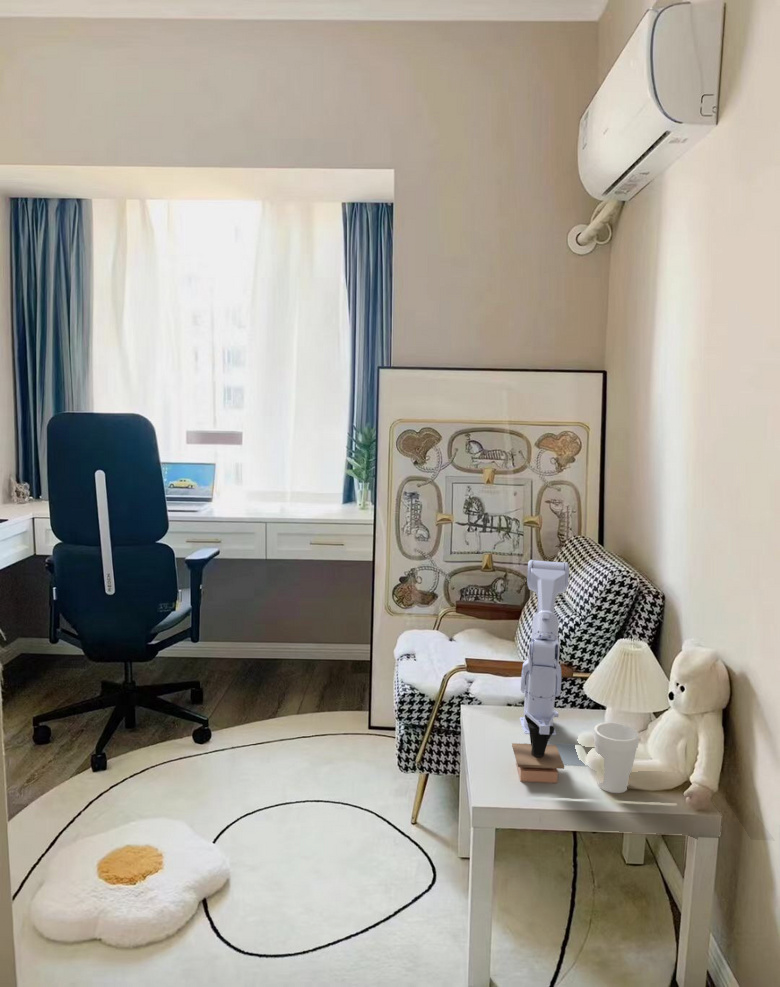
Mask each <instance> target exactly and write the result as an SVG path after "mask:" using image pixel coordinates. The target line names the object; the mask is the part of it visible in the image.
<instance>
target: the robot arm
mask: <svg viewBox="0 0 780 987" xmlns="http://www.w3.org/2000/svg"><path fill="white" fill-rule="evenodd" d="M569 577H570V564H569V563H568V562H567V561H565V562H561V561H549V560H548V561H547V560H533V559H530V560H529V561H528V562H527V577H526V579H527V580H526V583H527V588H528V590H530V591H532V592H534V593H535V595H536V597H537V605H536V607H537V608H536V613H535V614H534V615H533V616H532V617H533V618H532V627H531V640H530V641H529V643H528V657H527V659H525V660H524V662H523V663H522V669H521V675H520V677H521V678H520V691H521V692H522V694H524V704H523V705H524V706H523V717H522V716H521V717H519V722H520V725H521V728H522V731H523V734H524V735H529V741H530V744H531V746H533V752H534V755H541V756H543V755H544V753H545V749H546V746H547V743H549V740H550V739H551V736H556V735H557V732H556V729H555V727H554V719H555V718H559V712H558V711H557V710H555V701H556V697H557V698H558V697H560V695H561V691H562V690H561V689H562V667H561V664H560V663H559V662H560V642H559V618H558V616H557V615H556V614H555V606H556V600H557V599H556V598H557V596H558V595H559V594H563V593H566V591H567V589H568V586H569V579H570V578H569Z"/></svg>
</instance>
